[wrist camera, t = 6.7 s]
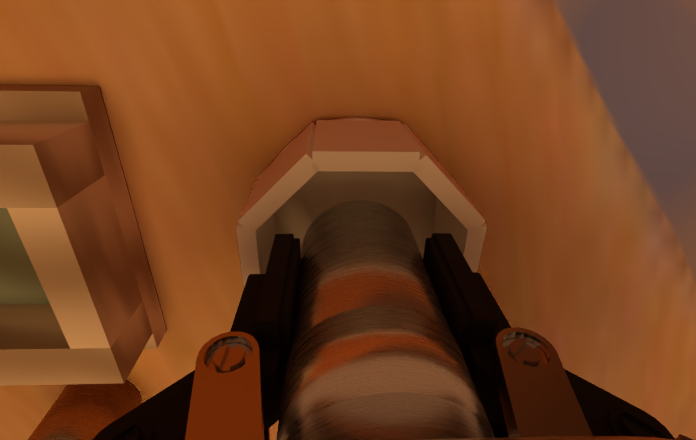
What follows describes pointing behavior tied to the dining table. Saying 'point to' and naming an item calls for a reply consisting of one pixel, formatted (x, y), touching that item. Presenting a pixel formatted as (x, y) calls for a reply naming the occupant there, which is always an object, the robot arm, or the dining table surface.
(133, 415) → the robot arm
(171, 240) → the dining table surface
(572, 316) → the dining table surface
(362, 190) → the beige piece
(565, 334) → the dining table surface
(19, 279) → the tray
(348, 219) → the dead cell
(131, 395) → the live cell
